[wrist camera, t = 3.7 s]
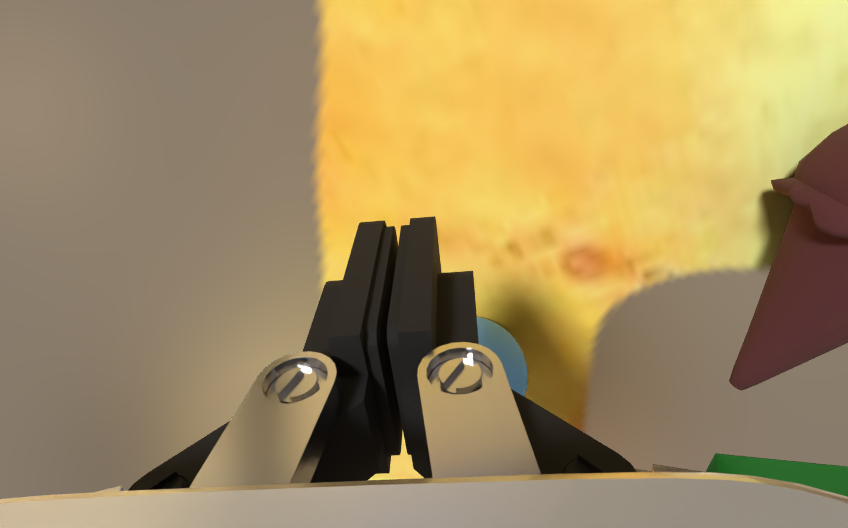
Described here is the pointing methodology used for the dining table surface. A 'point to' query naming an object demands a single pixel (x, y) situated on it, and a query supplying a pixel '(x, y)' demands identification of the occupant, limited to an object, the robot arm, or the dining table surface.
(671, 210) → the dining table surface
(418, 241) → the robot arm
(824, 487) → the milk carton
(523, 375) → the ball
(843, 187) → the icecream
